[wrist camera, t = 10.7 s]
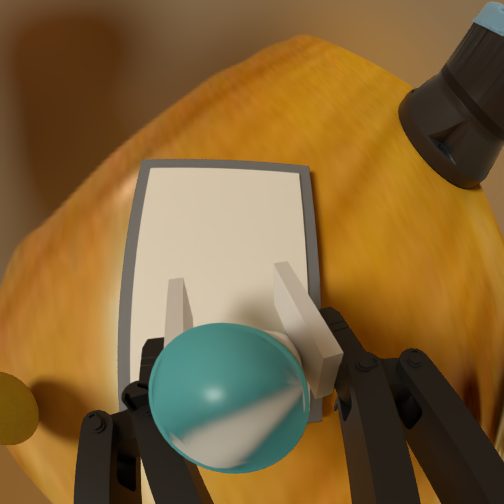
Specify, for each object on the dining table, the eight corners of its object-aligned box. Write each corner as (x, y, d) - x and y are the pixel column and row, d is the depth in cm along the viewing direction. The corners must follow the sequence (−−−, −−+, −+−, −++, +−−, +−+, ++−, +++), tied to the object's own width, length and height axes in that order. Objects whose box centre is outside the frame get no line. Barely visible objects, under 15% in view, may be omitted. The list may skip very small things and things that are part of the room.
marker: (302, 328, 17) (308, 320, 6) (303, 386, 16) (306, 476, 5) (243, 329, 18) (148, 320, 6) (243, 386, 17) (153, 459, 5)
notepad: (306, 171, 23) (309, 164, 22) (318, 418, 17) (322, 421, 16) (143, 165, 22) (141, 158, 21) (123, 415, 16) (118, 418, 15)
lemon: (4, 371, 15) (-58, 371, 7) (45, 368, 16) (-23, 371, 8) (21, 431, 13) (-36, 448, 5) (64, 433, 14) (6, 461, 7)
